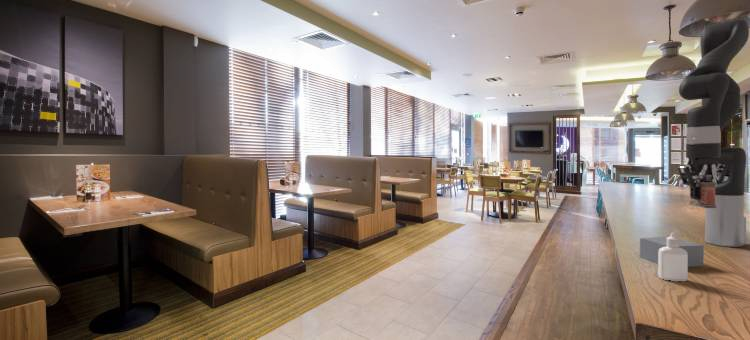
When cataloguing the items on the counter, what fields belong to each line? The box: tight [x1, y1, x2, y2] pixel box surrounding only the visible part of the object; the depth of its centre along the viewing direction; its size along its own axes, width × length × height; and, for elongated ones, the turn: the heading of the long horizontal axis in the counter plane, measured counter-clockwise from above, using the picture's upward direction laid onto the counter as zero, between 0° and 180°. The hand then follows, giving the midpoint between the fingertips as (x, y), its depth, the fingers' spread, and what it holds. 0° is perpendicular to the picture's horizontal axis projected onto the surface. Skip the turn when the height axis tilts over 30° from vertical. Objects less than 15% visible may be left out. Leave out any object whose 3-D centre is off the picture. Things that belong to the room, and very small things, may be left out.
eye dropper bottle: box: [657, 232, 689, 282], centre depth 86 cm, size 4×6×12 cm
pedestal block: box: [639, 236, 705, 268], centre depth 100 cm, size 10×10×6 cm
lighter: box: [689, 174, 716, 209], centre depth 102 cm, size 8×3×10 cm, turn 169°
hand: (702, 198), depth 102 cm, fingers closed on lighter, 4 cm apart
